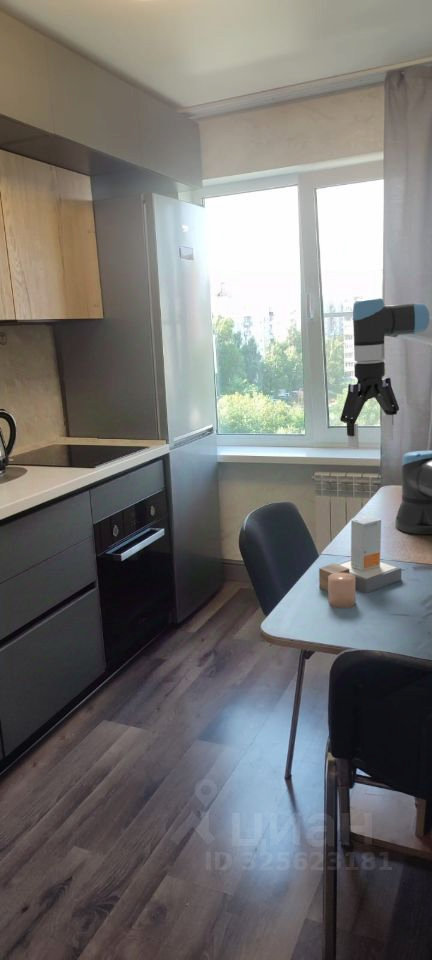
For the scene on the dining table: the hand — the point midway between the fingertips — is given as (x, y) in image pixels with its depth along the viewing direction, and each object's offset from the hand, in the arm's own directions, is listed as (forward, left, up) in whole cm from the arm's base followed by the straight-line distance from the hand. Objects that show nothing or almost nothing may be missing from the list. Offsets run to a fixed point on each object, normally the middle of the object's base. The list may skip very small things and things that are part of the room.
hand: (371, 443), depth 176 cm
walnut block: (+25, +11, -30) cm, 41 cm away
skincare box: (+15, +12, -27) cm, 33 cm away
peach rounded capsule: (+29, +18, -30) cm, 46 cm away
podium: (+15, +12, -30) cm, 36 cm away
